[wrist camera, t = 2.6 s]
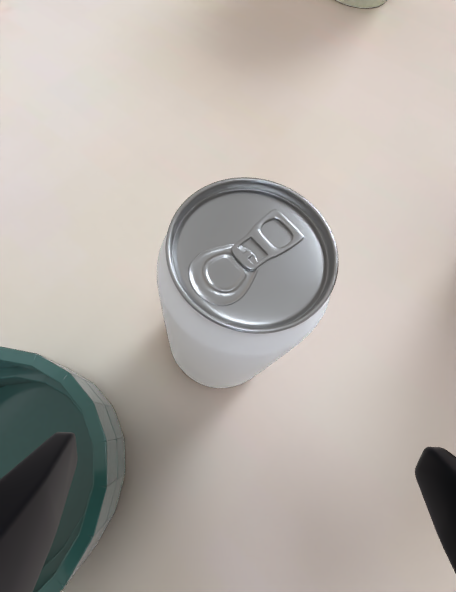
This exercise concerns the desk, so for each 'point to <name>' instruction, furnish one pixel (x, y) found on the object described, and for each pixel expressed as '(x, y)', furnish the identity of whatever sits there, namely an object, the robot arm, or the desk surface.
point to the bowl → (89, 441)
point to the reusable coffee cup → (362, 3)
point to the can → (243, 278)
